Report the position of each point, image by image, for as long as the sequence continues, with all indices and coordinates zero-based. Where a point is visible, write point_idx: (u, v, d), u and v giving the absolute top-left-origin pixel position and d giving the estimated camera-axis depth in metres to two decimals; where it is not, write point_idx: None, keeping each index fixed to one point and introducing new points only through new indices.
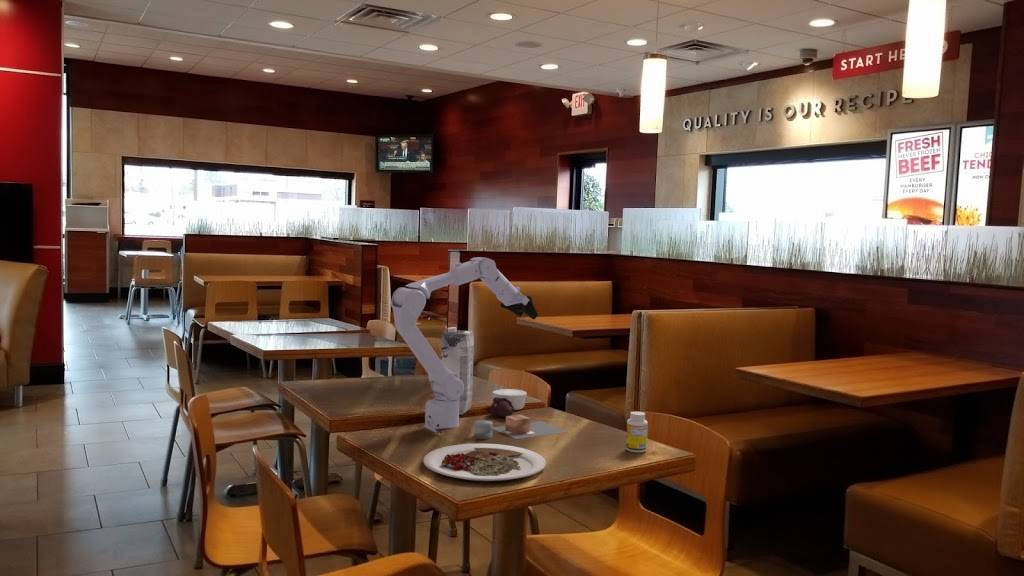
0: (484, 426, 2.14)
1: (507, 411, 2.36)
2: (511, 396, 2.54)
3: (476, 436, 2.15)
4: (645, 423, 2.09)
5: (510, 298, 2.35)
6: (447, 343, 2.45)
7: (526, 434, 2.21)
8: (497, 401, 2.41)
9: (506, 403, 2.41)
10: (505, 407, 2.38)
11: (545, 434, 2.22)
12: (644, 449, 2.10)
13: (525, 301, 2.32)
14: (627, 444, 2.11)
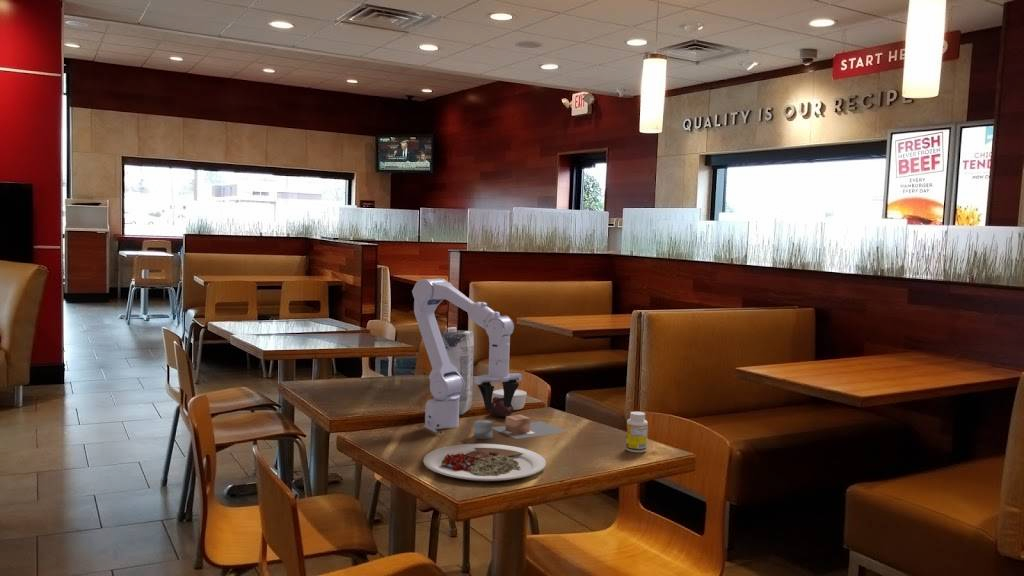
0: (484, 426, 2.14)
1: (506, 411, 2.37)
2: None
3: (476, 436, 2.15)
4: (645, 423, 2.09)
5: None
6: (447, 343, 2.45)
7: (526, 434, 2.21)
8: (496, 401, 2.42)
9: None
10: (504, 407, 2.38)
11: (545, 434, 2.22)
12: (644, 449, 2.10)
13: (475, 381, 2.16)
14: (627, 444, 2.11)
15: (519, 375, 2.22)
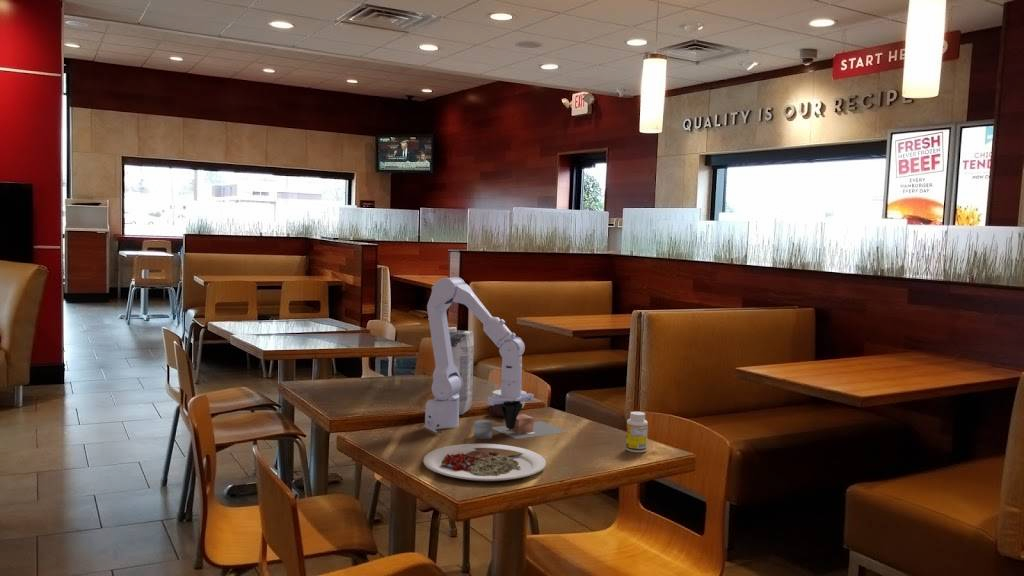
0: (484, 426, 2.14)
1: None
2: None
3: (476, 436, 2.15)
4: (645, 423, 2.09)
5: (501, 391, 2.22)
6: None
7: (526, 434, 2.21)
8: None
9: None
10: None
11: (545, 434, 2.22)
12: (644, 449, 2.10)
13: (488, 401, 2.19)
14: (627, 444, 2.11)
15: (531, 395, 2.25)
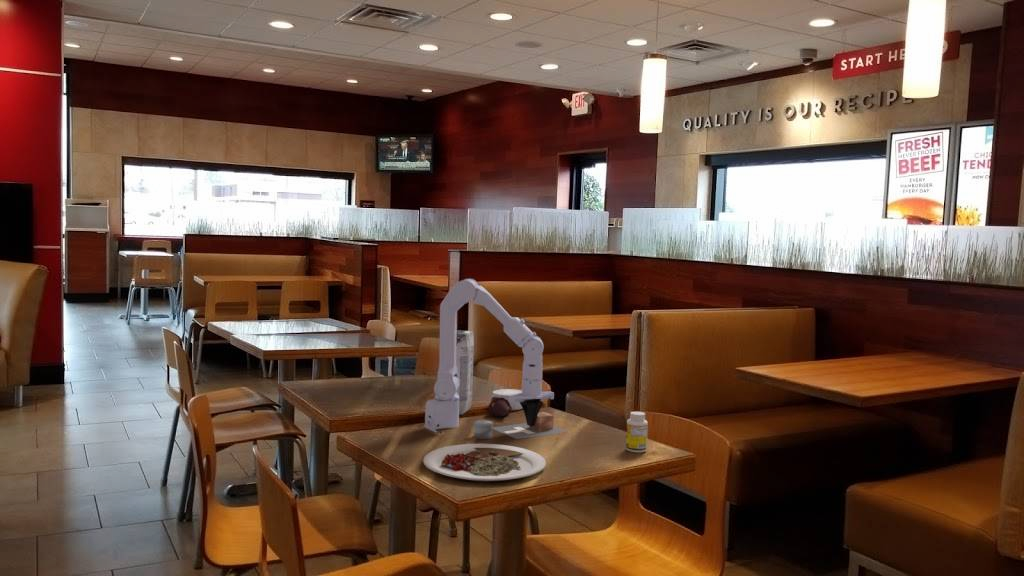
0: (484, 426, 2.14)
1: (504, 410, 2.37)
2: None
3: (476, 436, 2.15)
4: (645, 423, 2.09)
5: (522, 389, 2.26)
6: None
7: (526, 434, 2.21)
8: (494, 400, 2.42)
9: (503, 402, 2.41)
10: (502, 406, 2.39)
11: (545, 434, 2.22)
12: (644, 449, 2.10)
13: (510, 399, 2.22)
14: (627, 444, 2.11)
15: (551, 393, 2.29)
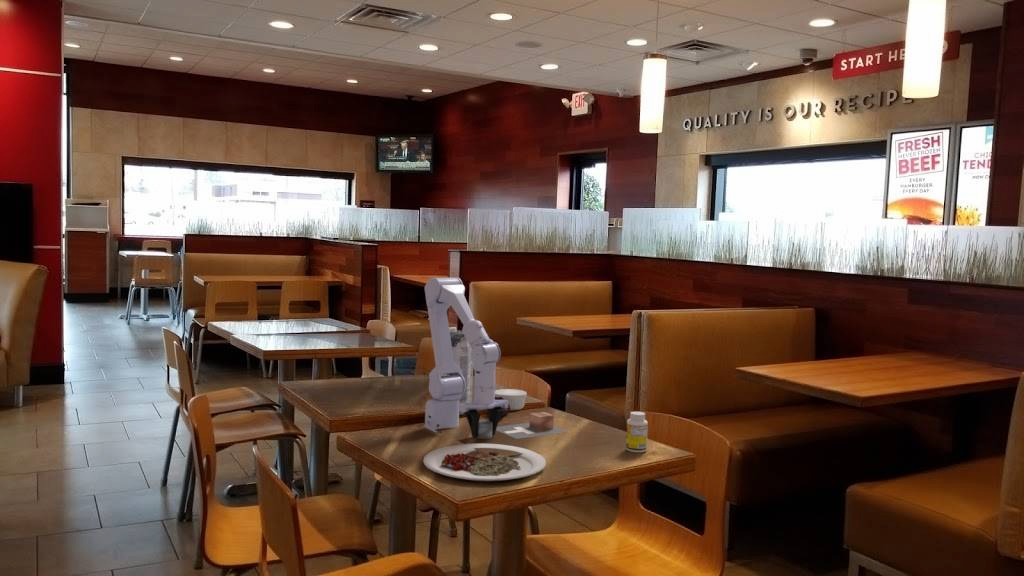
0: (484, 426, 2.14)
1: None
2: (511, 396, 2.54)
3: None
4: (645, 423, 2.09)
5: (474, 398, 2.16)
6: None
7: (526, 434, 2.21)
8: None
9: None
10: None
11: (545, 434, 2.22)
12: (644, 449, 2.10)
13: (460, 408, 2.13)
14: (627, 444, 2.11)
15: (505, 402, 2.19)
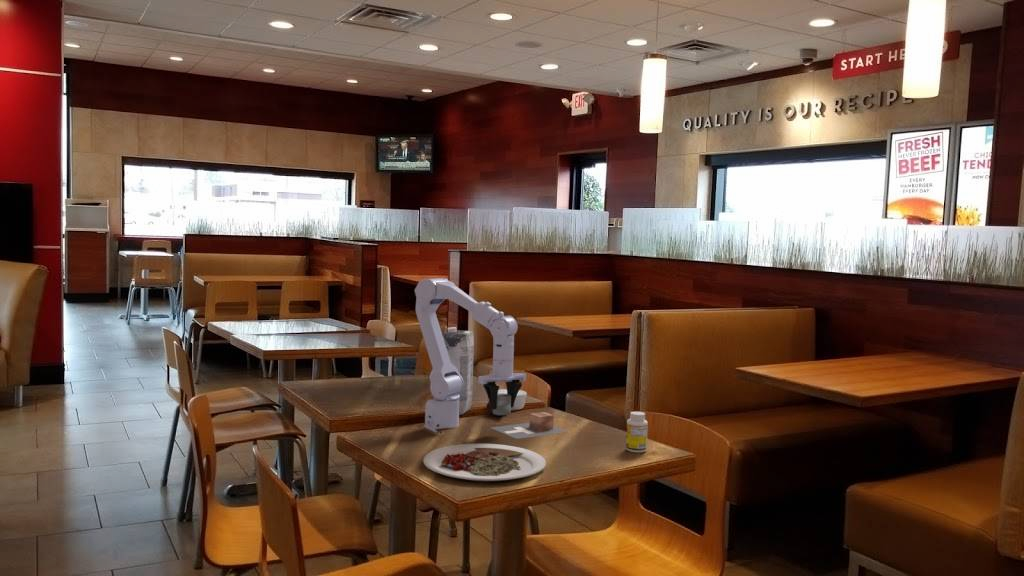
0: (503, 398, 2.17)
1: None
2: None
3: None
4: (645, 423, 2.09)
5: None
6: (447, 343, 2.45)
7: (526, 434, 2.21)
8: None
9: None
10: None
11: (545, 434, 2.22)
12: (644, 449, 2.10)
13: (479, 380, 2.16)
14: (627, 444, 2.11)
15: (523, 375, 2.22)
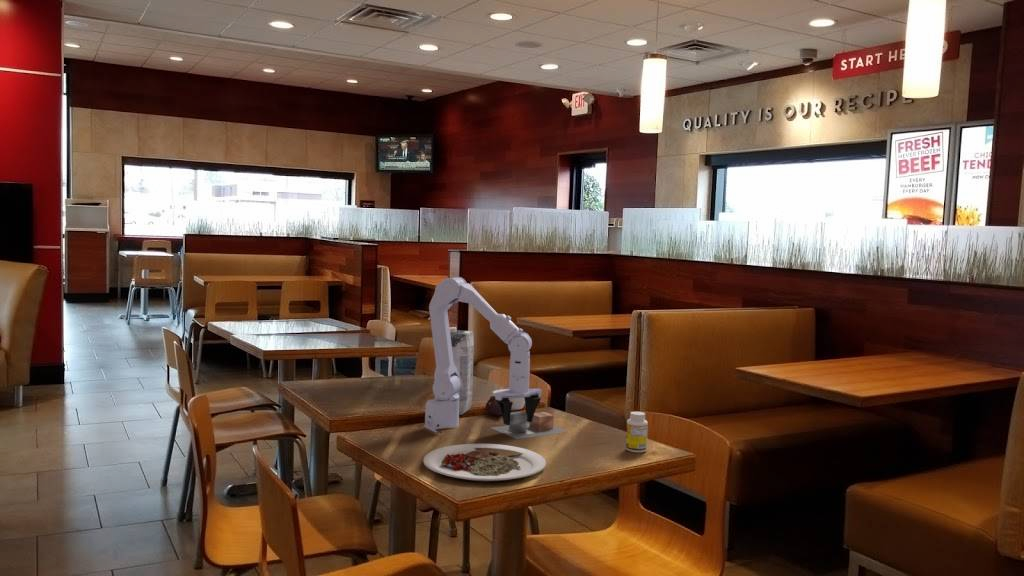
0: (519, 417, 2.22)
1: (499, 410, 2.38)
2: None
3: (511, 427, 2.23)
4: (645, 423, 2.09)
5: (509, 386, 2.23)
6: None
7: (526, 434, 2.21)
8: (491, 400, 2.43)
9: None
10: (498, 406, 2.40)
11: (545, 434, 2.22)
12: (644, 449, 2.10)
13: (496, 396, 2.20)
14: (627, 444, 2.11)
15: (539, 390, 2.26)
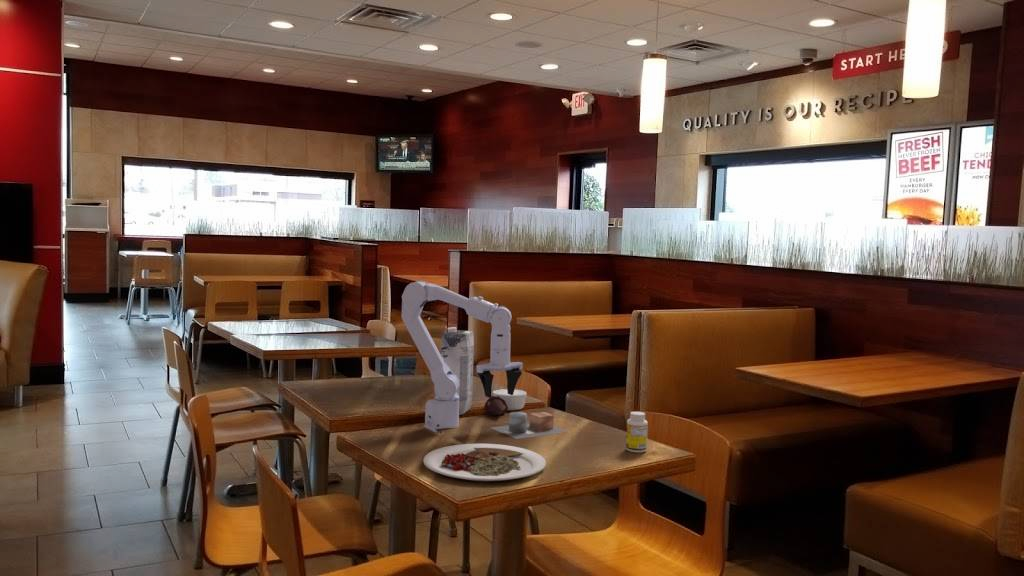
0: (519, 417, 2.22)
1: (498, 409, 2.38)
2: (511, 396, 2.54)
3: (511, 427, 2.23)
4: (645, 423, 2.09)
5: (490, 360, 2.26)
6: (447, 343, 2.45)
7: (526, 434, 2.21)
8: (490, 399, 2.44)
9: (499, 401, 2.43)
10: (497, 405, 2.40)
11: (545, 434, 2.22)
12: (644, 449, 2.10)
13: (477, 369, 2.23)
14: (627, 444, 2.11)
15: (520, 364, 2.29)
